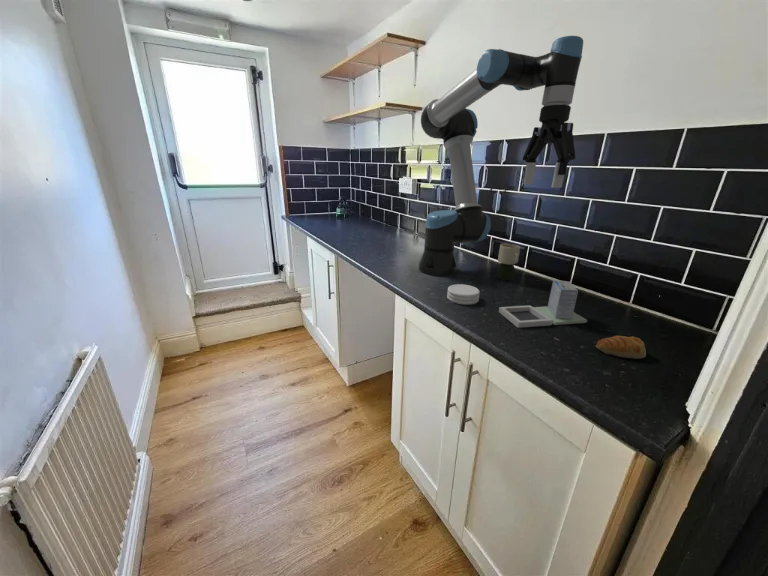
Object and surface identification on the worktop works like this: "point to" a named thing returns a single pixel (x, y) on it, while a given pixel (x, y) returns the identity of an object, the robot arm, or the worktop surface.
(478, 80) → the robot arm
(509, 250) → the character mug
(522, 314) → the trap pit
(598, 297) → the worktop surface
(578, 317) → the pad
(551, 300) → the medicine box
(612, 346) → the pastry
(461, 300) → the coaster
